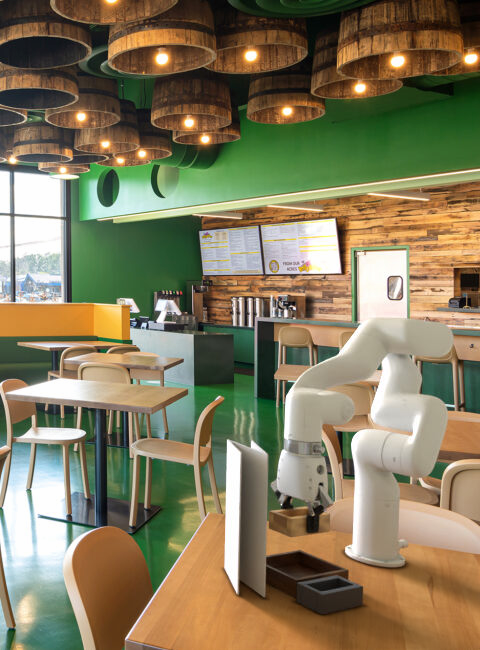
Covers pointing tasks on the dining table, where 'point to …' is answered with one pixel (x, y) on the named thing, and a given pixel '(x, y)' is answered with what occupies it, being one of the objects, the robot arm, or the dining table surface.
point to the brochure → (246, 515)
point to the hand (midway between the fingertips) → (299, 526)
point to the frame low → (329, 594)
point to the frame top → (295, 521)
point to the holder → (298, 570)
